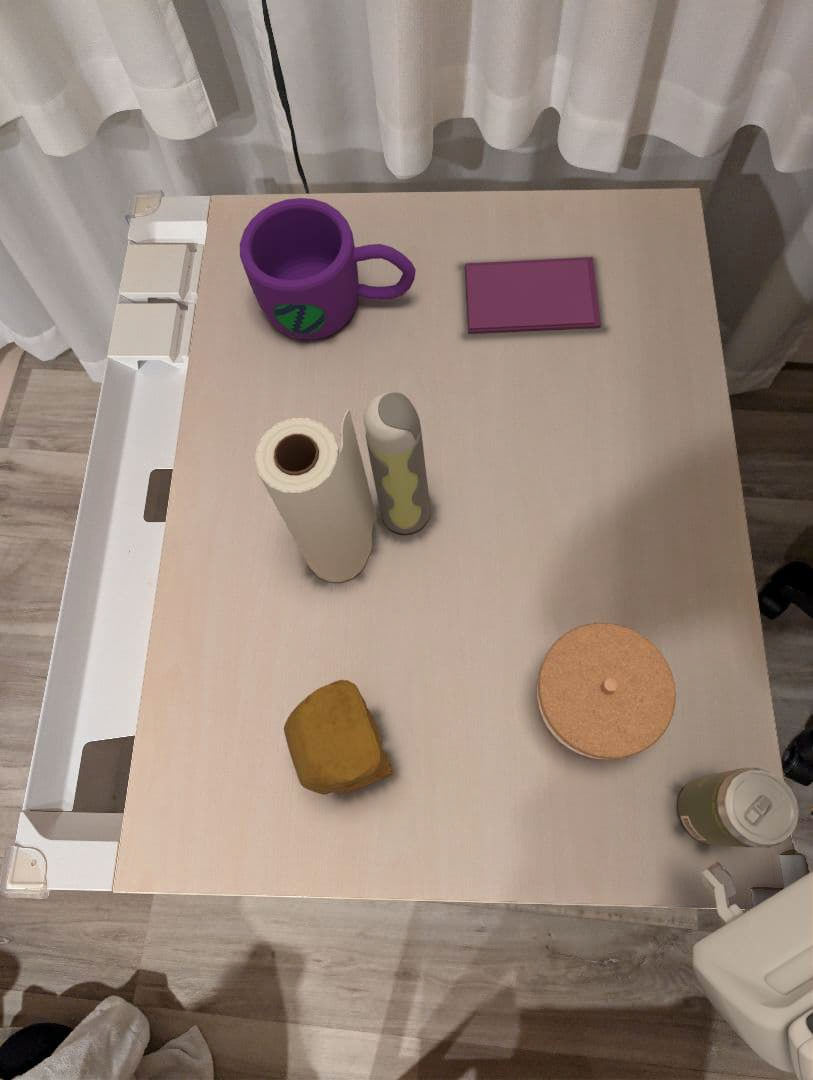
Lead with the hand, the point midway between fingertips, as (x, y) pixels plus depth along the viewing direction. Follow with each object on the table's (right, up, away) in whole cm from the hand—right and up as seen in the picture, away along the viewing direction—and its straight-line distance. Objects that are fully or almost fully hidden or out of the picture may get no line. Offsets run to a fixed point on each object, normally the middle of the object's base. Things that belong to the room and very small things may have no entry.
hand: (764, 838), depth 56 cm
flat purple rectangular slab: (-12, +48, +28) cm, 57 cm away
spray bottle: (-26, +24, +20) cm, 41 cm away
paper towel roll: (-32, +20, +19) cm, 42 cm away
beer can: (-1, -1, +9) cm, 9 cm away
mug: (-33, +47, +29) cm, 65 cm away
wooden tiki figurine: (-31, +3, +12) cm, 33 cm away
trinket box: (-9, +7, +13) cm, 17 cm away
